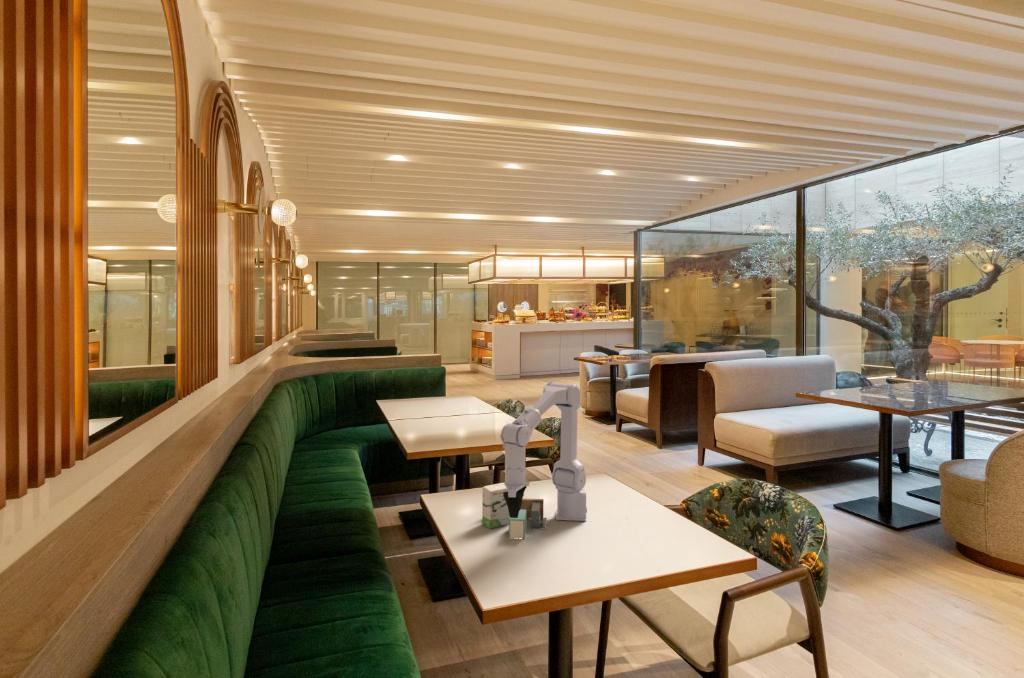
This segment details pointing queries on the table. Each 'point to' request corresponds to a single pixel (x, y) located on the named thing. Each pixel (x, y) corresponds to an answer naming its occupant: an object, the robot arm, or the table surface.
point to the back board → (528, 506)
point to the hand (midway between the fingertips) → (515, 513)
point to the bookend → (537, 517)
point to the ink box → (494, 506)
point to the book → (518, 525)
